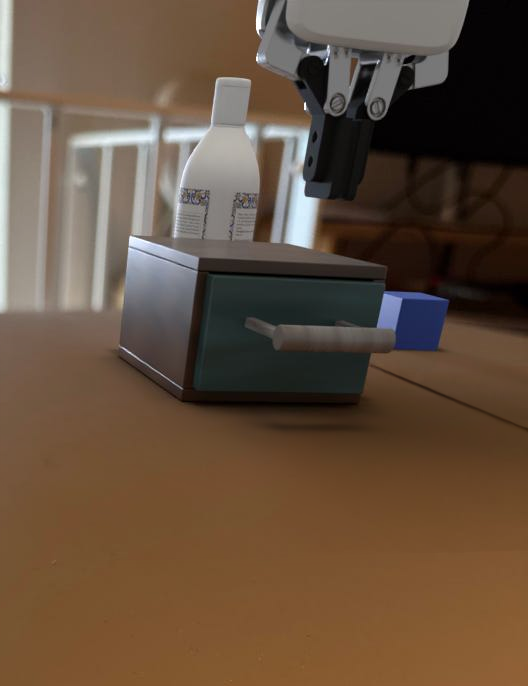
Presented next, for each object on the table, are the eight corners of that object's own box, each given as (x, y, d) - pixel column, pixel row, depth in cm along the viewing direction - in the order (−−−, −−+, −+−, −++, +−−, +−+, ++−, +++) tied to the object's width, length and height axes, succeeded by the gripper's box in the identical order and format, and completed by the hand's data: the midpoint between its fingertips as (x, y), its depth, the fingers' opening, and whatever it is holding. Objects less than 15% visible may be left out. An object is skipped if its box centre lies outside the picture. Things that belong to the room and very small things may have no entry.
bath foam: (235, 324, 92) (271, 84, 83) (241, 336, 86) (280, 78, 77) (163, 318, 93) (190, 79, 83) (164, 329, 86) (194, 72, 77)
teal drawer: (412, 417, 57) (440, 298, 54) (234, 415, 55) (253, 290, 52) (276, 353, 74) (292, 259, 71) (135, 349, 72) (145, 251, 68)
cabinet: (359, 403, 64) (388, 266, 60) (181, 401, 61) (199, 257, 57) (269, 359, 77) (288, 243, 73) (117, 355, 74) (129, 234, 70)
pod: (409, 344, 88) (421, 292, 86) (436, 353, 84) (449, 300, 82) (365, 342, 87) (376, 290, 85) (391, 352, 83) (403, 298, 81)
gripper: (494, -175, 51) (410, 204, 59) (232, -222, 48) (181, 186, 56) (593, -220, 44) (483, 212, 53) (298, -278, 41) (230, 193, 49)
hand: (328, 198), depth 54 cm, fingers closed
